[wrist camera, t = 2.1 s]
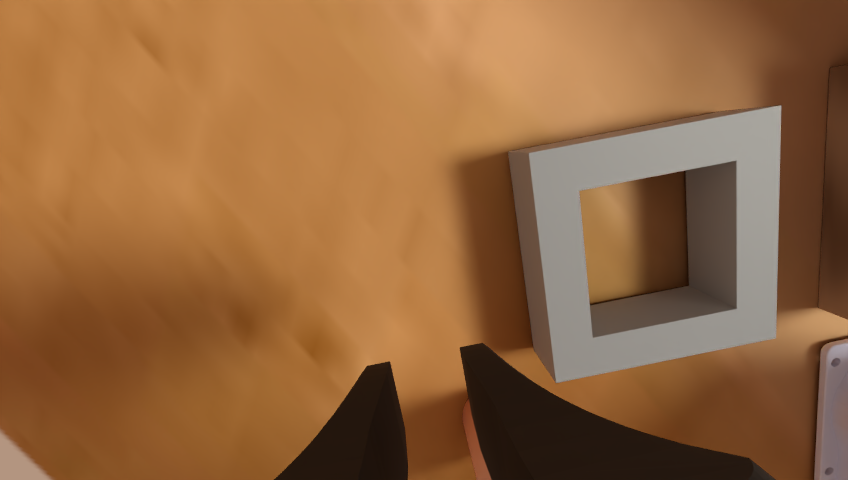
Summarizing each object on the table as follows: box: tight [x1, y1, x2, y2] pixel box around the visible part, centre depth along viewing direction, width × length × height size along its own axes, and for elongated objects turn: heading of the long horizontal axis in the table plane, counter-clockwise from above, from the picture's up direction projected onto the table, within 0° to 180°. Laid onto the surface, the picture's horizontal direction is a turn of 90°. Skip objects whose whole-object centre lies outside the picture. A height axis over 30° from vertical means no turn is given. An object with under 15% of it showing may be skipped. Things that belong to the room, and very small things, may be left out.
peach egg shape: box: [462, 398, 491, 480], centre depth 19 cm, size 4×4×7 cm
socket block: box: [508, 105, 781, 383], centre depth 19 cm, size 10×10×3 cm
